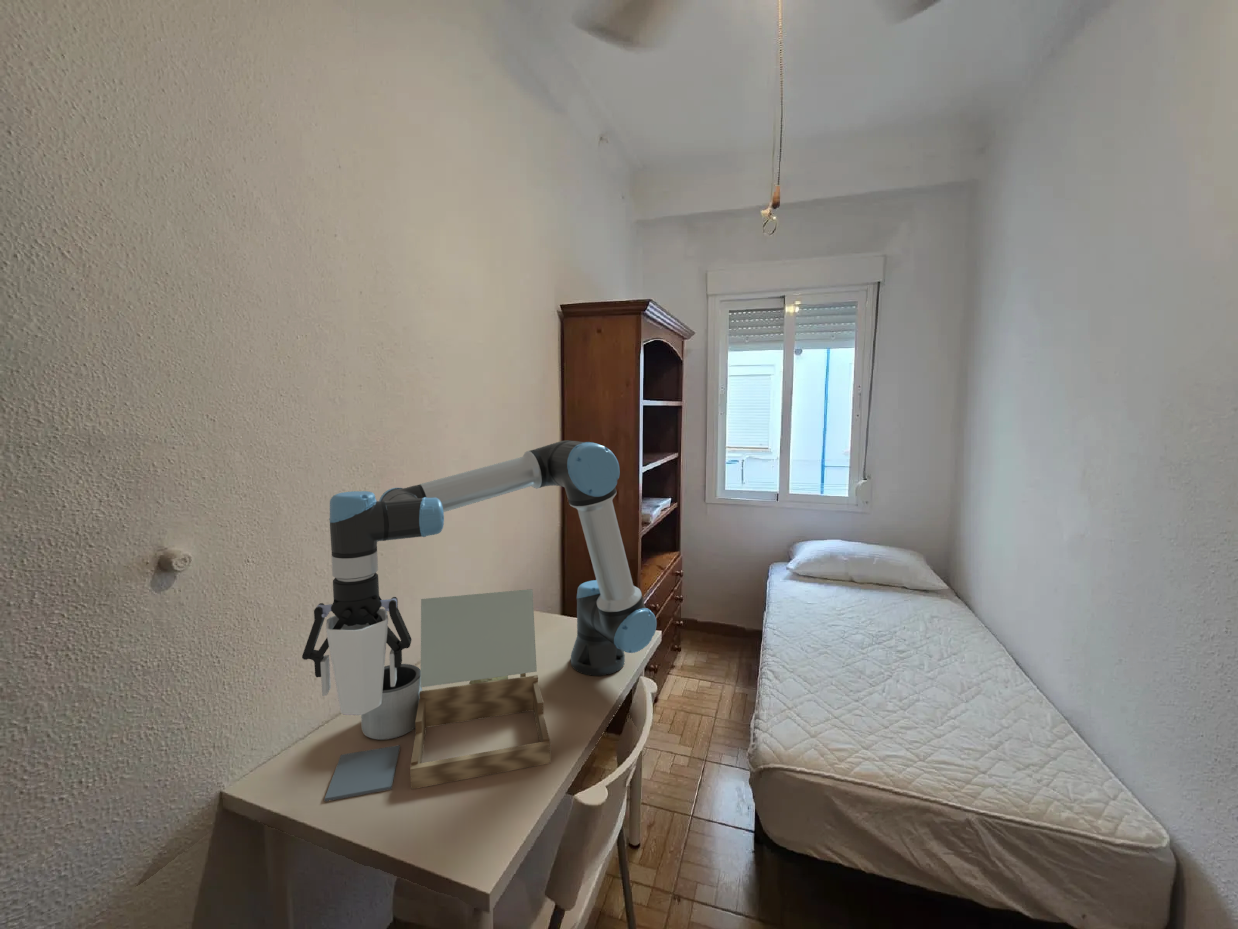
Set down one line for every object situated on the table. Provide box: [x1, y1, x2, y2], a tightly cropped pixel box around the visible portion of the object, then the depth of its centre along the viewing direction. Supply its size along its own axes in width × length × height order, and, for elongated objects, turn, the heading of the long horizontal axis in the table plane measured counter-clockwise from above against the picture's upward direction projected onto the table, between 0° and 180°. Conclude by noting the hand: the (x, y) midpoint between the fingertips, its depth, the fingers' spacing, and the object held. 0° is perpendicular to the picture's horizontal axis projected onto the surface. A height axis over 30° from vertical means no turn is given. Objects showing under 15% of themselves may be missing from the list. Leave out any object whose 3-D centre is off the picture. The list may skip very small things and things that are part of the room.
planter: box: [360, 663, 423, 741], centre depth 112 cm, size 13×13×11 cm
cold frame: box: [409, 673, 551, 790], centre depth 108 cm, size 26×25×16 cm
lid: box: [420, 588, 538, 688], centre depth 118 cm, size 26×19×1 cm
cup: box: [325, 608, 389, 716], centre depth 95 cm, size 11×10×17 cm
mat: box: [324, 744, 401, 802], centre depth 97 cm, size 11×12×1 cm
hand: (360, 687), depth 96 cm, fingers closed on cup, 11 cm apart
